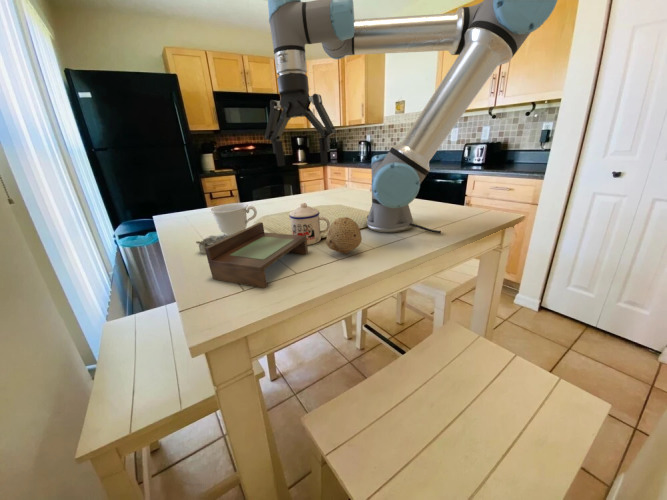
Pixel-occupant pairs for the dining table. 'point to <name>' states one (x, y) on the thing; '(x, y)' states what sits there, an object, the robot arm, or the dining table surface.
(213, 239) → the egg carton
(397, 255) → the dining table surface
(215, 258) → the shelf
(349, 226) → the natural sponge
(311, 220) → the teacup with lid
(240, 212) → the teacup
